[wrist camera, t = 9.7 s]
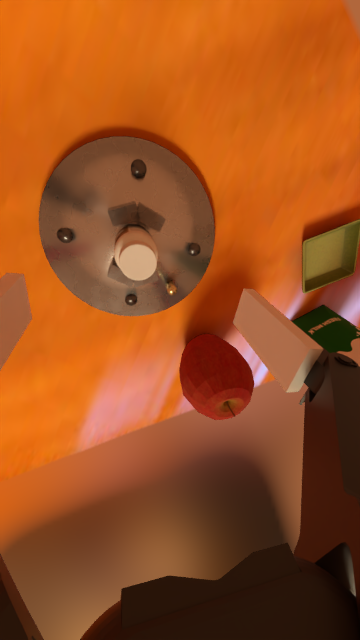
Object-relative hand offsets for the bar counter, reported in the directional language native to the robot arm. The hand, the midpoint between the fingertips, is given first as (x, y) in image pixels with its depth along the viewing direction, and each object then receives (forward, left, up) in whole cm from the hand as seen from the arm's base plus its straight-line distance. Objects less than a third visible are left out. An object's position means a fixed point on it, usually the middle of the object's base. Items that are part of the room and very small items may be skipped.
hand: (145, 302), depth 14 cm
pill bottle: (0, 0, -16) cm, 16 cm away
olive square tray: (-1, +28, -17) cm, 33 cm away
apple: (+16, +12, -17) cm, 26 cm away
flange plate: (0, 0, -16) cm, 16 cm away
